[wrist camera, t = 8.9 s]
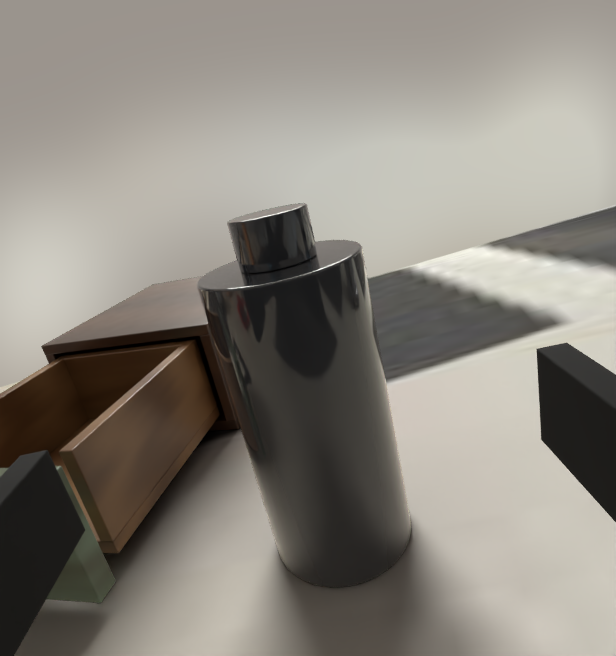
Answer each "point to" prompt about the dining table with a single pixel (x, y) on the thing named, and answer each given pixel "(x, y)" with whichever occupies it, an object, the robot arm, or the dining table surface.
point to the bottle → (310, 395)
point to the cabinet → (154, 334)
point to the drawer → (109, 441)
